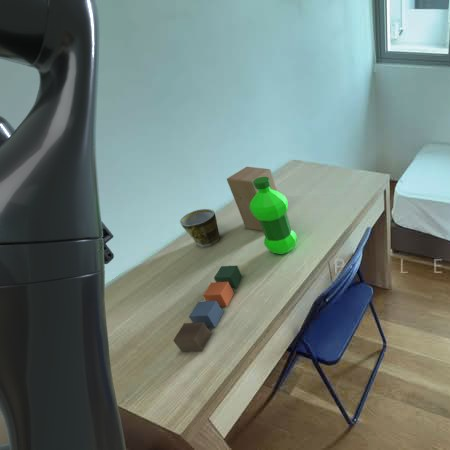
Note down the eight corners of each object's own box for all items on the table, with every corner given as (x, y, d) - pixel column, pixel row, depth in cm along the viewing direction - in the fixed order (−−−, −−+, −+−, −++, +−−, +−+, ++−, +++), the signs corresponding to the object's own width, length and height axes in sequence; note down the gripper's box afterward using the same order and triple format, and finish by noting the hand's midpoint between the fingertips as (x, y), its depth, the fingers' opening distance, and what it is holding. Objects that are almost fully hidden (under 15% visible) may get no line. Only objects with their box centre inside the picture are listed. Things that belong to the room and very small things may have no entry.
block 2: (227, 306, 81) (220, 294, 79) (209, 307, 81) (202, 295, 79) (234, 293, 85) (228, 281, 83) (217, 294, 85) (211, 282, 83)
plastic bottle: (276, 238, 105) (253, 171, 91) (305, 240, 104) (286, 173, 89) (260, 257, 97) (233, 187, 83) (291, 260, 96) (269, 189, 81)
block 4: (202, 351, 71) (193, 339, 68) (182, 352, 71) (172, 340, 68) (211, 334, 74) (203, 322, 72) (192, 335, 74) (184, 323, 72)
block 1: (236, 288, 87) (230, 276, 84) (220, 289, 87) (213, 277, 84) (242, 277, 90) (237, 265, 88) (227, 277, 90) (221, 266, 88)
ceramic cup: (197, 235, 109) (184, 211, 103) (227, 230, 111) (217, 206, 105) (186, 258, 98) (172, 233, 92) (220, 252, 100) (208, 227, 94)
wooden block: (245, 228, 111) (225, 178, 99) (263, 214, 119) (246, 165, 107) (269, 232, 108) (251, 181, 97) (285, 217, 116) (270, 168, 105)
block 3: (215, 327, 76) (207, 315, 73) (196, 328, 76) (188, 316, 73) (223, 312, 80) (216, 300, 77) (205, 313, 80) (198, 301, 77)
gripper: (85, 172, 51) (137, 248, 61) (0, 176, 51) (64, 251, 61) (44, 194, 45) (108, 274, 54) (-53, 199, 45) (28, 278, 54)
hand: (85, 262), depth 57 cm, fingers open, 8 cm apart
